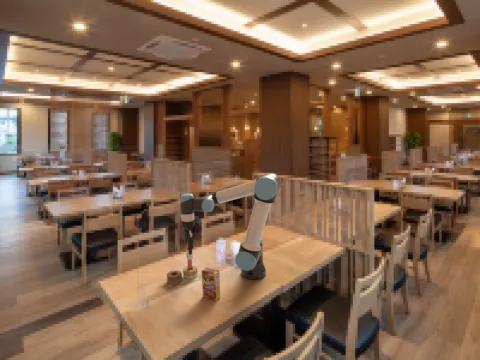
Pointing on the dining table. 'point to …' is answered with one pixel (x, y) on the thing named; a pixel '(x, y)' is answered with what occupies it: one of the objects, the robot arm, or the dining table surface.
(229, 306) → the dining table surface
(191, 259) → the needle
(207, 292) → the candy box
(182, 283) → the felt mat
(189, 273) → the beech bead
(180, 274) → the walnut bead
